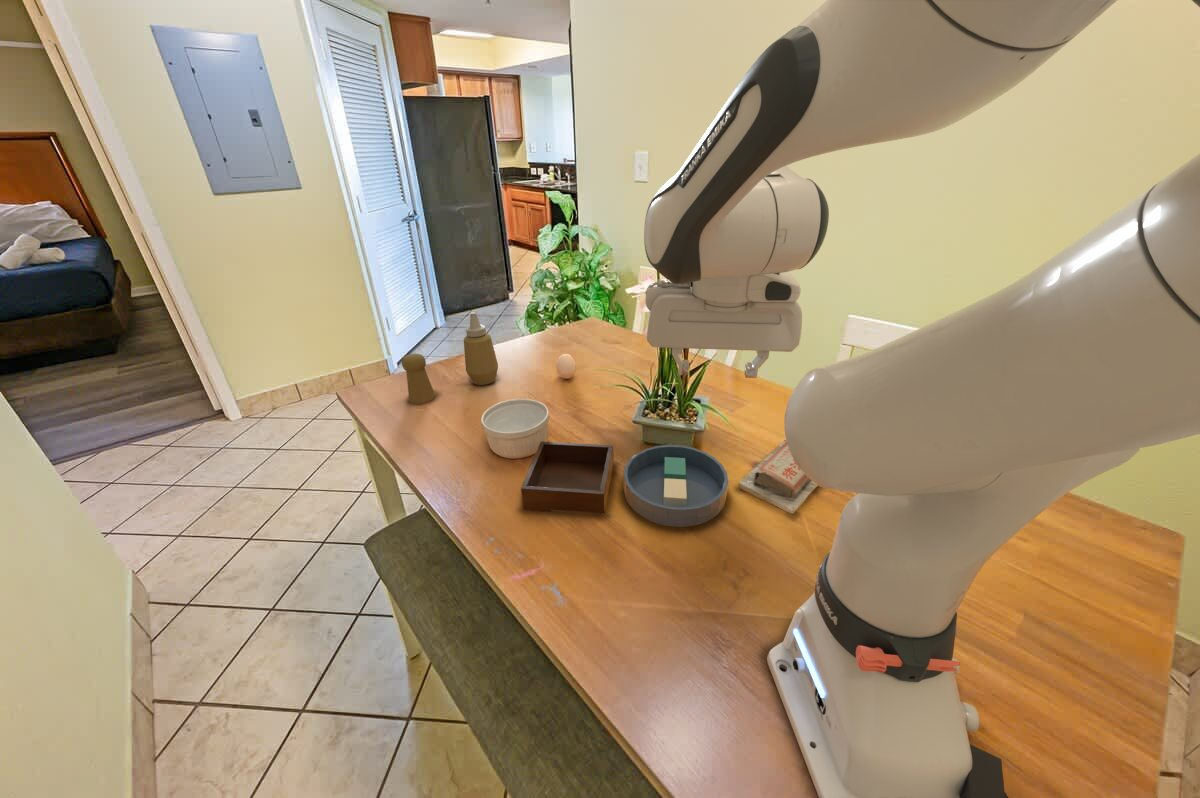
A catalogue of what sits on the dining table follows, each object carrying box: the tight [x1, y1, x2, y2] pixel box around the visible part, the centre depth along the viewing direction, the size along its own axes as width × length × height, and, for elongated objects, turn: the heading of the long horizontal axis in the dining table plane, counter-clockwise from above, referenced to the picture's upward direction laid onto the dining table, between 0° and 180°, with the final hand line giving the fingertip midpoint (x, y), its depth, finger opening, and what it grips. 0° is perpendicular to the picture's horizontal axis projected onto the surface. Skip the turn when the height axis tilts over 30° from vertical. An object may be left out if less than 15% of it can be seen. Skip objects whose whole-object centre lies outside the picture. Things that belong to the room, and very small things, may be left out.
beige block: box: [663, 478, 687, 507], centre depth 78 cm, size 5×4×3 cm
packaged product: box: [738, 439, 819, 515], centre depth 83 cm, size 18×5×10 cm
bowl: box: [623, 444, 729, 528], centre depth 80 cm, size 17×17×4 cm
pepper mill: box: [401, 353, 436, 405], centre depth 112 cm, size 6×6×11 cm
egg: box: [556, 353, 577, 380], centre depth 120 cm, size 5×5×7 cm
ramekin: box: [480, 398, 550, 460], centre depth 94 cm, size 13×13×7 cm
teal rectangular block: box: [664, 457, 686, 480], centre depth 83 cm, size 5×4×3 cm
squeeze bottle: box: [463, 311, 499, 386], centre depth 117 cm, size 8×8×18 cm
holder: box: [520, 441, 615, 514], centre depth 83 cm, size 14×14×4 cm
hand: (716, 375), depth 68 cm, fingers open, 8 cm apart
